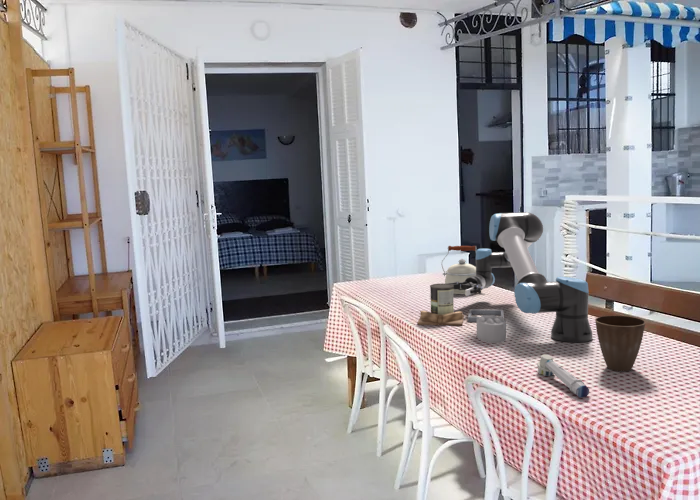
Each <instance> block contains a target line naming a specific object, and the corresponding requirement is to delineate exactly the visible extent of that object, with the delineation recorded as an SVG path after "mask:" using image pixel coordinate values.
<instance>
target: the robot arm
mask: <svg viewBox="0 0 700 500" xmlns="http://www.w3.org/2000/svg"><path fill="white" fill-rule="evenodd" d="M489 220H490V221H489V226H488V227H489V228H488V229H489V230H488V232H489V239H490V240H491V241H494V242H495V241H496V242H497V243H498V245H499V246H500V247H501V248H503V249H504V251H499V252H498V251H496V252H492V249H491V248H478V249H476V251H475V259H474V260H475V267H476V275H474V276H472V277H469V278H467V279H466V280H465V281H464V282H460V283H459V282H454V283H446V284H452V285H454V288H453V290H454V289H458V290H465V294H464V295H465V297H468V296H470V295H474V294H477V293H478V294H482V291H483V290H484V289H488V288H491V286H493V285H494V284H495V283H496V282H495V280H496V278H495V275H494V273H492V269H494V268H496V269H497V268H512V270H513V273H514V275H515V277H516V280H517V282H516V285H515V288H514V293H513V294H514V298H515V304H516V306H517V308H518V309H519V310H520V311H521V312H522V313H524V314H531V315H533V314H542V313H543V314H544V313H555V318H554V321H553V324H552V327H551V329H550V337H551V339H554V340H557V341H560V342H564V343H565V342H567V343H584V342H589V341H592V340H593V330H592V327H591V323H590V321H589V294H590V291H589V284H588V282H587V281H586V280H584V279H580V278H576V277H570V276H569V277H568V276H557V277H556V279H555V281H547V278H546V277H545V275H543V274H542V273H540V272H539V271H538V268H537V266H536V263H535V261H534V260H533V258H532V256H531V252H530V251H529V247H530V246H532V244H533V243H536V242H538V241H539V240H540V238H541V237H542V236H543V234H544V225H543V223H542V220H541V219H540V218H539V217H538V216H537V215H535V214H534V213H531V212H527V211H525V212H499V213H494V214H493V215H491V217H490V219H489ZM460 287H461V288H460Z"/></svg>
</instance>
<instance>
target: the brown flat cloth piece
mask: <svg viewBox="0 0 700 500" xmlns="http://www.w3.org/2000/svg"><path fill="white" fill-rule="evenodd" d="M463 312H464V311H460V310H459V311H458V310H457V311H455V312H453V313H448V314H443V315H441V314H439V315H438V314H434V313H431V311H427V310H420V313H419V314H420V317H419V319H418V321H417V323H416V324H418V325H419V326H446V325H451V326H450V327H452V326H453V327H455V326H456V327H463V324H464V321H465V314H463Z"/></svg>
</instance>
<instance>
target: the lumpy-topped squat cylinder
mask: <svg viewBox="0 0 700 500" xmlns="http://www.w3.org/2000/svg"><path fill="white" fill-rule="evenodd" d="M478 317H479V318H477V322H476V338H477V339H478V340H479V341H482V342H484V343H489V344H500V343H501V344H502V343H504V342H505V341H506V340H507V322H506V320H505V318H503V317H504V316H503V317H502V316H501V315H498V316H497V315H485V314H482V315H481V316H478Z"/></svg>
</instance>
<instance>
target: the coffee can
mask: <svg viewBox="0 0 700 500" xmlns="http://www.w3.org/2000/svg"><path fill="white" fill-rule="evenodd" d="M453 288H454V285H452V284H445V283H432V284H431V285H429V289H430V290H429V291H430V312H431V313H434V314H438V315H439V314H441V315H443V314H448V313H453V312H454V305H455V304H454V303H455V301H454V294H453Z"/></svg>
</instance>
